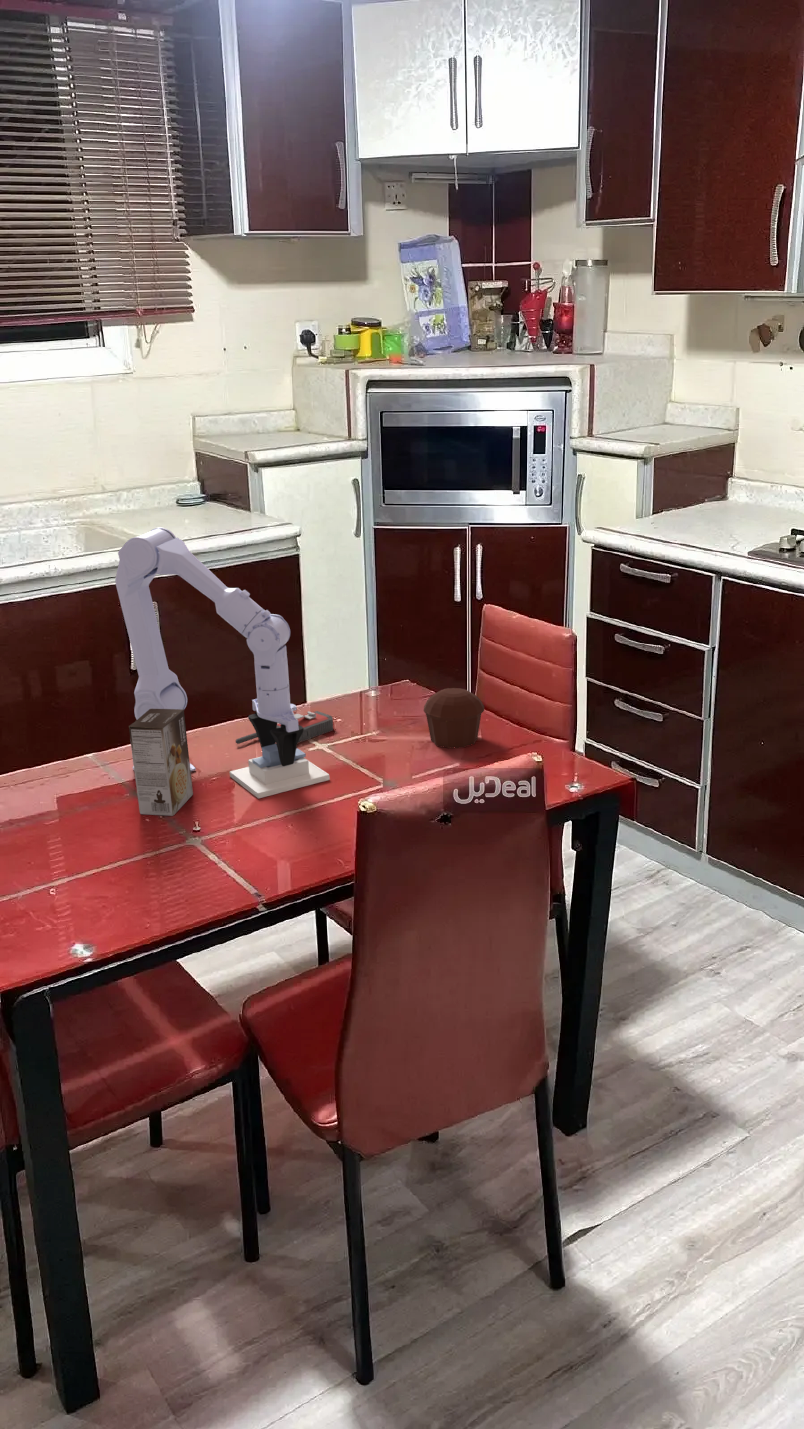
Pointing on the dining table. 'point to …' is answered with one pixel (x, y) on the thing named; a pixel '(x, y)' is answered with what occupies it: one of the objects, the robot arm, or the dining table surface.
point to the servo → (273, 756)
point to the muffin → (453, 717)
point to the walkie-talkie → (305, 726)
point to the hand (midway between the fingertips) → (278, 757)
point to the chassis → (278, 777)
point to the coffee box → (161, 761)
